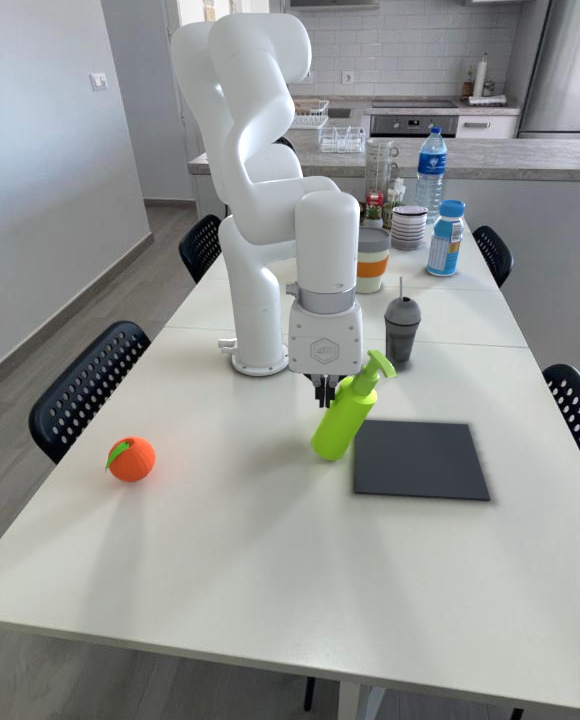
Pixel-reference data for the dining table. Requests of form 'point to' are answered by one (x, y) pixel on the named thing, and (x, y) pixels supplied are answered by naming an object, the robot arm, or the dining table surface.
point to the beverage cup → (401, 329)
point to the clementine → (131, 459)
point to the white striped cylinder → (408, 227)
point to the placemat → (418, 460)
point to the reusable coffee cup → (371, 258)
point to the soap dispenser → (349, 408)
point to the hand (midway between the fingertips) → (325, 402)
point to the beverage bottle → (446, 238)
